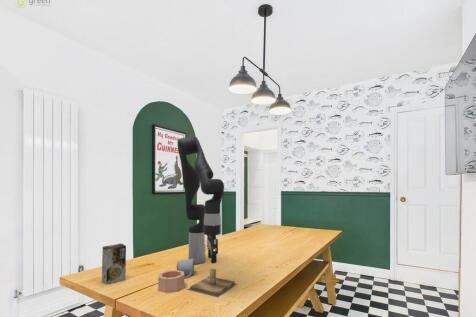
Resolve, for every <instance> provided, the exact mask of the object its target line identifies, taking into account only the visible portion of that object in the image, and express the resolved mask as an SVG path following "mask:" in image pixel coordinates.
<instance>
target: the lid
mask: <svg viewBox="0 0 476 317" xmlns="http://www.w3.org/2000/svg"><path fill="white" fill-rule="evenodd" d="M234 283H235V281H234V280H229V279H224V278H219V277H217V269H216V268H210V269H209V276H207V277H205V278H203V279H201V280H200V281H197V282H196V283H194V284H192V285H190V287H189V288H190V289H191V290H195V291H199V292H203V293H207V294H212V295H216V296H218V295H219V294H221V293H222V292H224V291H225V290H227V289H228V288H230V287H231V286H233V285H234Z"/></svg>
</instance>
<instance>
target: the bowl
mask: <svg viewBox="0 0 476 317" xmlns="http://www.w3.org/2000/svg"><path fill="white" fill-rule="evenodd" d="M157 277H158V281H157V282H158V284H157V285H158V286H157V291H158V292H162V293H166V294H167V293H174V292H179V291H181V290H183V289H184V288H185V278H184V277H185V275H184V271H179V270H177V269H172V270H165V271H162V272H159V273H158V276H157Z"/></svg>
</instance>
